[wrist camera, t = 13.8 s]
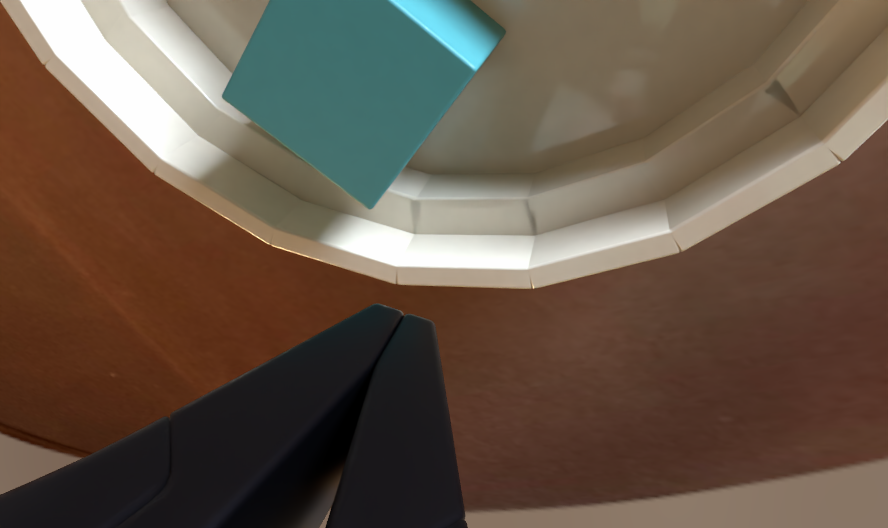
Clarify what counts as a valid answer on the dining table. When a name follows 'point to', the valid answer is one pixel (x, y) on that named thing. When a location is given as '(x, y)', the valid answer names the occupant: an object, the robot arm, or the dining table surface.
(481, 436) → the dining table surface
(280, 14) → the block
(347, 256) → the bowl
